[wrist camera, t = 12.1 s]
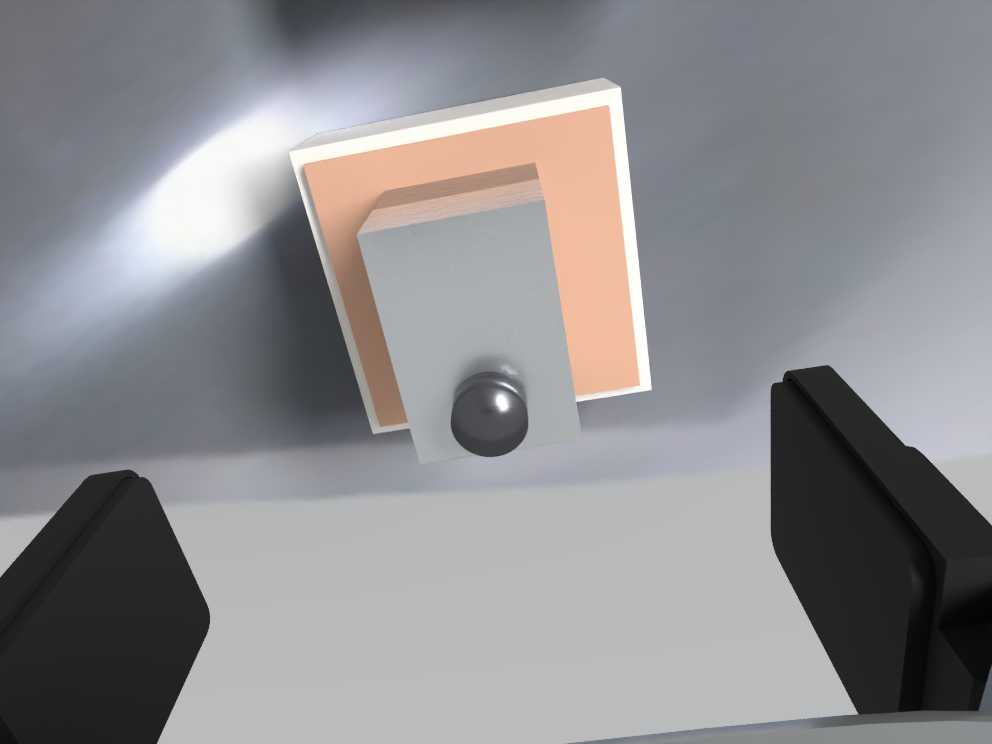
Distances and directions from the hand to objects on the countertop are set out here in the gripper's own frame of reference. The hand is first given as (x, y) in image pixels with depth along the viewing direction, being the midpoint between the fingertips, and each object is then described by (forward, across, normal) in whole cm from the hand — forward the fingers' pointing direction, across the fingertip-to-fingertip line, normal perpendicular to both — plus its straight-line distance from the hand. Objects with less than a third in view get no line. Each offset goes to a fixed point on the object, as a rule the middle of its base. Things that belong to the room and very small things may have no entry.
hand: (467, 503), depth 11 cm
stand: (+23, 0, +3) cm, 23 cm away
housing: (+18, 0, +3) cm, 18 cm away
